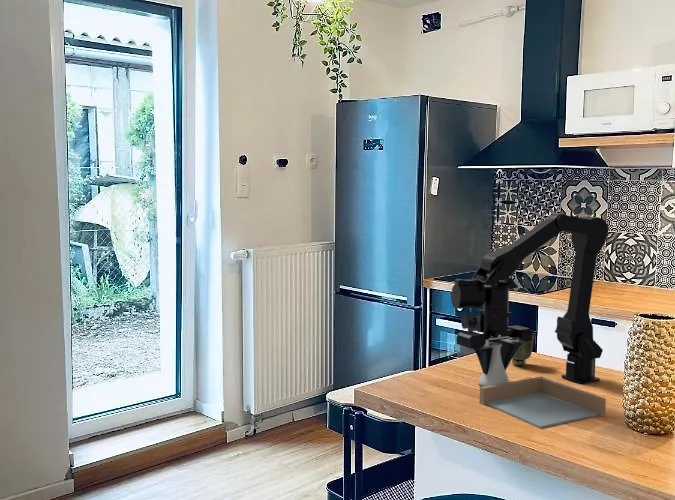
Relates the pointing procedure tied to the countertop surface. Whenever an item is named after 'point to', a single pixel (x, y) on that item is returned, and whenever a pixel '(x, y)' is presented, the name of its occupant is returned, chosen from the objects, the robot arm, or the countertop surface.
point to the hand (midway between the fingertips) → (494, 372)
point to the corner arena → (542, 401)
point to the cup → (523, 353)
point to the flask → (494, 368)
